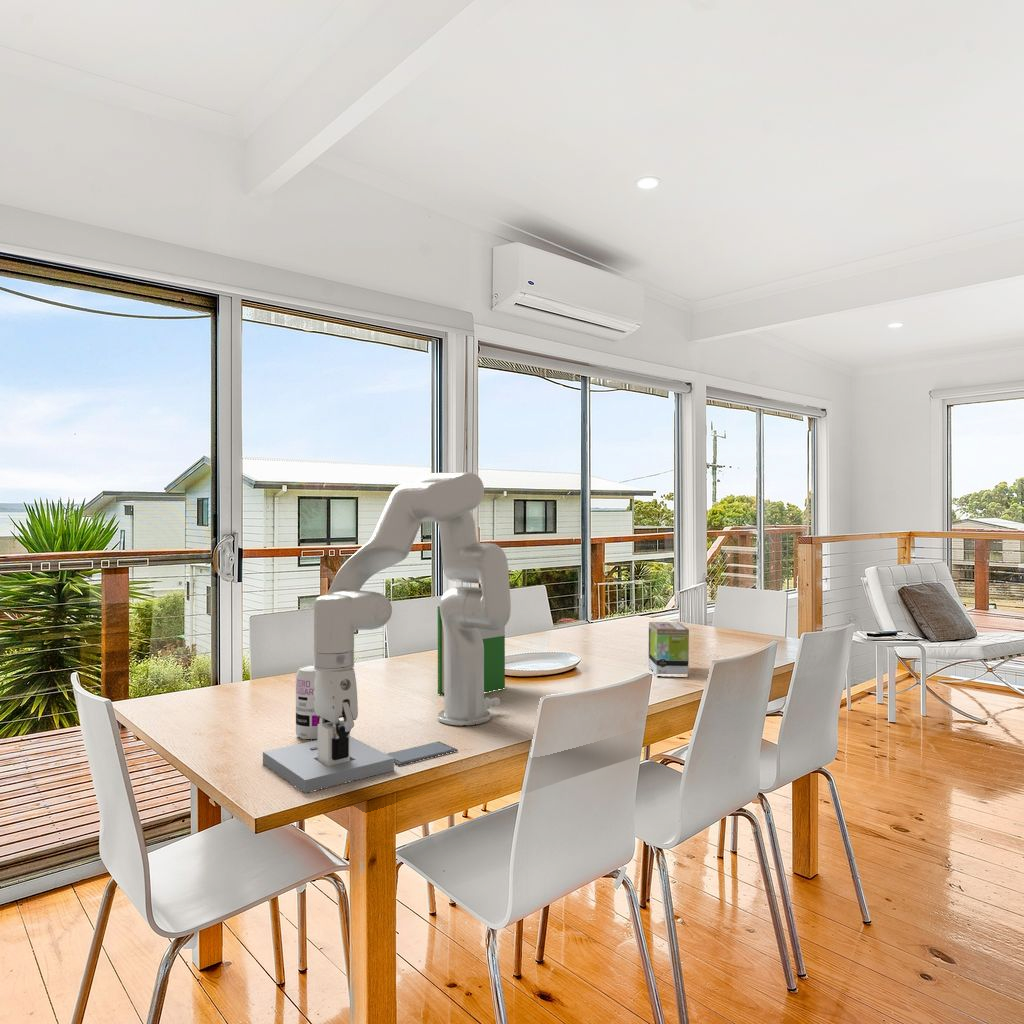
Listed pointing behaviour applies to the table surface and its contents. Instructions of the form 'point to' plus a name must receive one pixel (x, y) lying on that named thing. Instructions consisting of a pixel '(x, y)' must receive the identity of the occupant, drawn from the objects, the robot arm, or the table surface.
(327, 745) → the charger block
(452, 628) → the robot arm
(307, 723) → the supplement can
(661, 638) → the tea box
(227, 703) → the table surface
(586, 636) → the table surface
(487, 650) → the hardback book
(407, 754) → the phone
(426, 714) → the table surface
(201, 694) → the table surface
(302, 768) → the grey peg hole board
